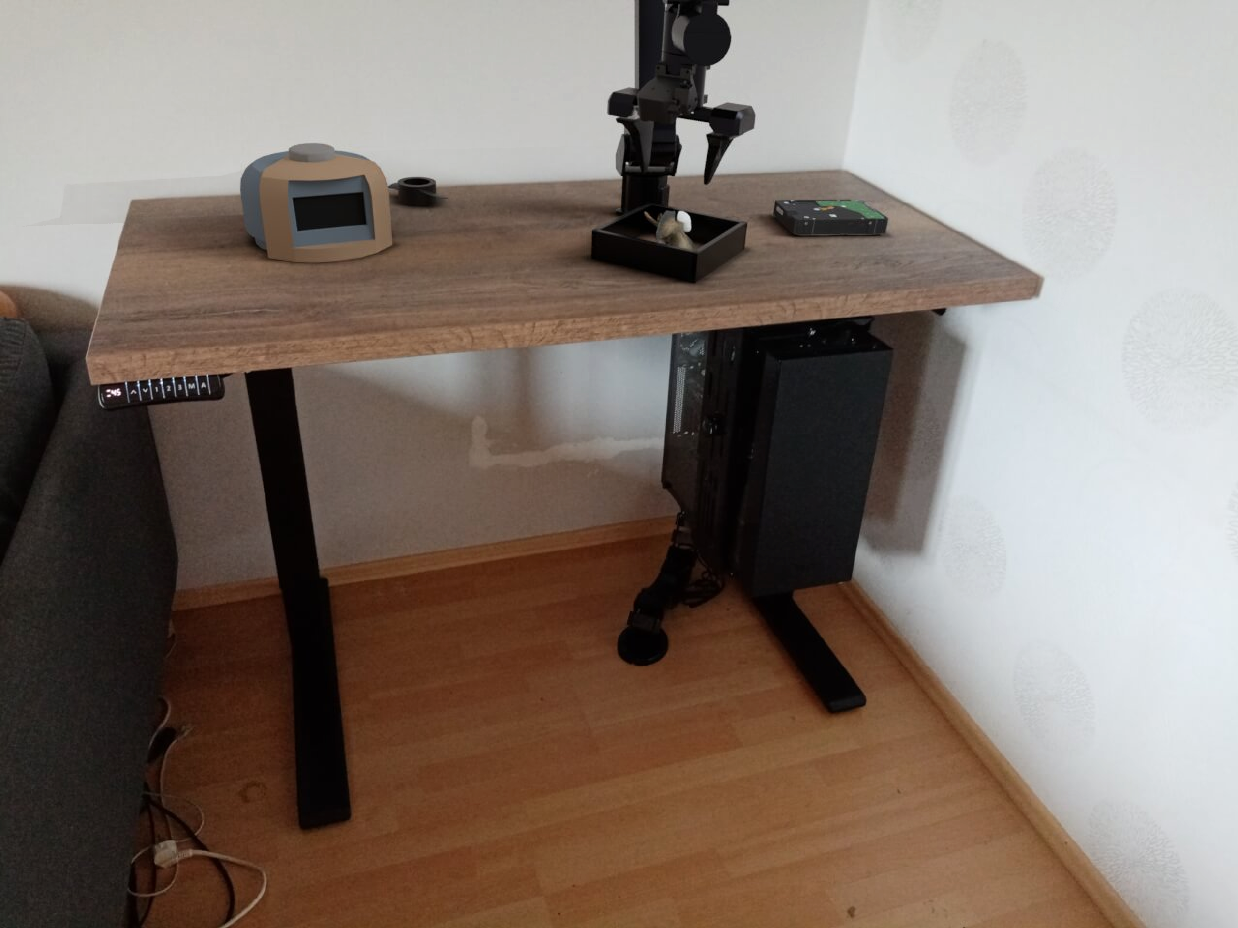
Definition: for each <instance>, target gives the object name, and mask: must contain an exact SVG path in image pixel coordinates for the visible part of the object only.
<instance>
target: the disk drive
mask: <svg viewBox="0 0 1238 928" xmlns="http://www.w3.org/2000/svg"><path fill="white" fill-rule="evenodd" d="M865 202H866V201H865V200H858V199H779V200H778V199H775V200H774V203H773V212H772V215H773V216H774V217H775V218H776V219H777V220H778V221H779V223H781V224H782V225H783V226H784V227H785V228H786V229H787V230H788V231H789V232H790V233H792V234H793V235H797V236H841V235H843V236H844V235H846V236H847V235H848V236H872V235H882V234H886V233H887V229H888V224H889V217H887V216H886V215H885V214H884V213H882V212H881V211H879V210H878V209H877V208H874V207H872V206H870V205H868V204H867V203H865Z"/></svg>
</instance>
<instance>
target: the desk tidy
mask: <svg viewBox="0 0 1238 928" xmlns="http://www.w3.org/2000/svg"><path fill="white" fill-rule="evenodd" d="M667 210H668V211H675V221H676V220H677V214H678V212H679V211H684V212H685V213H687V214H688V215H689V216H690V220H691V230H690V231H689V232H684V233H685V234H686V235H687V236H688V237H689V238H690V239H691V241H692V242H698V243H703V245H702V246H700V247H699V248H697V249H695V251H694V250H689V249H685V248H680V247H676V246H671V244H669V245H667V244H662V243H658V241H653V240H648V239H643V238H639V237H642V236H643V235H645V234H647V233H648V232H651V233H655V234H656V231H657V227H656V226H655V225H654V224H652V223H651V222H650V221H649V220H648V219H647V218H646V216H645V214H644V212H647V213H648V214H649V216H650V217H652V218H653V219H654V220H656V221H658V216H659V214H660V213H661V214H662V216H663V214H664V213H665V211H667ZM747 229H748V221H744V220H738V219H734V218H729V217H725V216H720V215H714V214H709V213H705V212H701V211H700V212H699V211H694V210H690V209H685V208H680V207H676V206H675V207H674V206H670V205H668V206H665V205H660V204H655V203H650V202H648V203H646V204H644V205H642V206H640V207H638V208H636V209H634V210H632V211H630V212H628V213H626V214H624V215H620V216H618V217H616V218H613V219H612V220H610V221H608V222H605V223H603V224H602V225H599V226H597V227H595V228H593V229H592V230H591V236H590V237H591V241H590V260H594V261H598V262H603V263H607V264H610V265H615V266H620V267H624V268H628V269H633V270H637V271H641V272H645V273H649V274H653V275H657V276H663V277H667V278H671V279H675V280H680V281H683V282H689V283H693V284H696V283H697V282H699V281H700V280H702V279H703V278H705V277H706V276H707V275H709V274H711V273H712V272H714V271H715V270H717V269H718V268H719V267H721V266H723V265H724V264H725V263H727V262H728V261H730V260H732V259H733V258H734V257H736V256H737V255H739V254H740V253H741V252H743V251H745V247H746V238H747Z"/></svg>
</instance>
